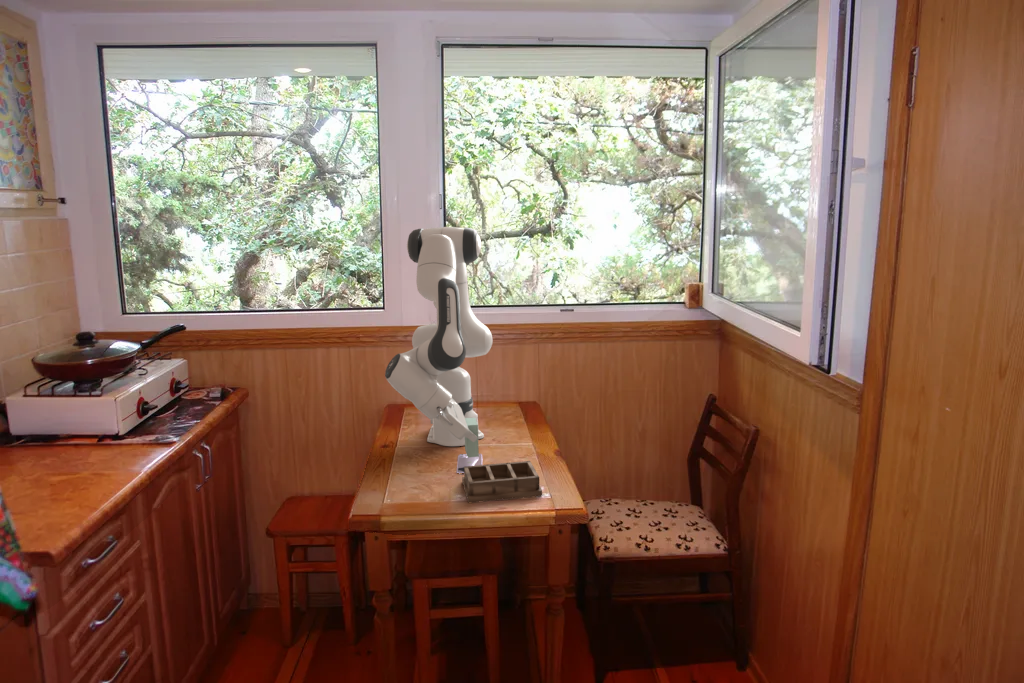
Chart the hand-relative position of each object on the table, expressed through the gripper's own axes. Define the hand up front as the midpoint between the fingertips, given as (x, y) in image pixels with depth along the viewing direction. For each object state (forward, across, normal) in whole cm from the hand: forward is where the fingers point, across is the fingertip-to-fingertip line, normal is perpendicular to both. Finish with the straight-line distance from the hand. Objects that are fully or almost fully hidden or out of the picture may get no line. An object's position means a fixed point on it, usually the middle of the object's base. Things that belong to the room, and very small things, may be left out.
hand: (473, 434), depth 193 cm
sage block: (+3, 0, +4) cm, 5 cm away
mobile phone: (+13, +19, +11) cm, 26 cm away
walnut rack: (+17, 0, +6) cm, 18 cm away
